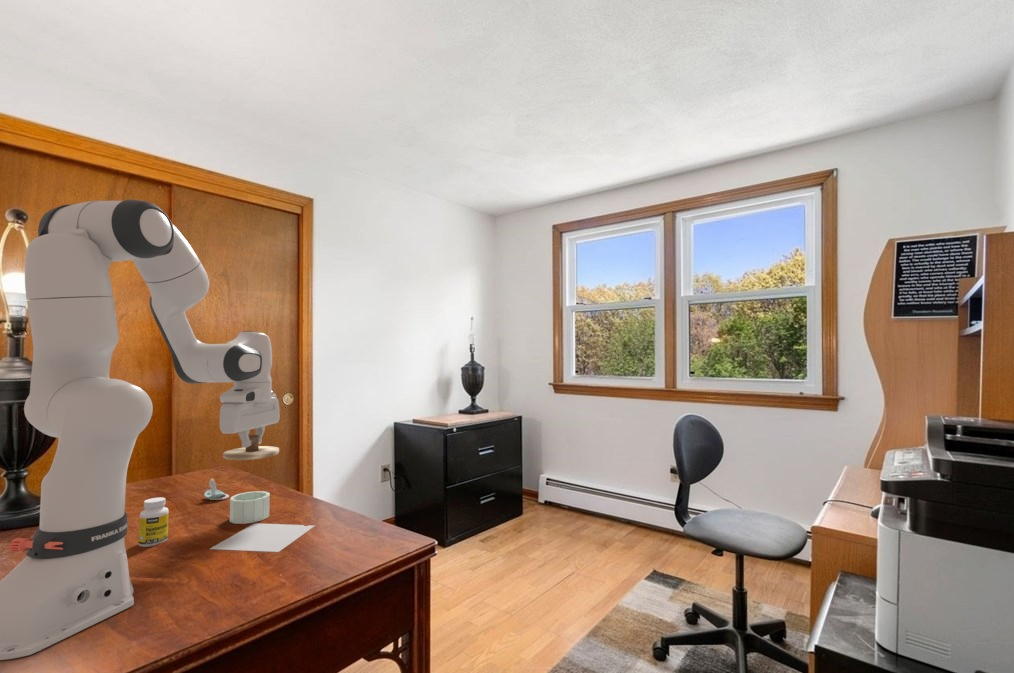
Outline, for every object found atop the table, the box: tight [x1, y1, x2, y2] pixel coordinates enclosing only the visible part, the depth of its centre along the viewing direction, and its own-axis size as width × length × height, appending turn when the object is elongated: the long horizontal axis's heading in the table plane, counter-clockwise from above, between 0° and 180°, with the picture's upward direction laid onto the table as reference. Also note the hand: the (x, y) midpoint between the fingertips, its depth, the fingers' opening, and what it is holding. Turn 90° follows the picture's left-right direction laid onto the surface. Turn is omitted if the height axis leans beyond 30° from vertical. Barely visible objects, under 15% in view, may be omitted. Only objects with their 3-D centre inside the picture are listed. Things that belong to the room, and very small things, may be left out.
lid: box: [222, 434, 280, 461], centre depth 125 cm, size 13×13×5 cm
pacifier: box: [203, 478, 230, 501], centre depth 142 cm, size 7×6×6 cm
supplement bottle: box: [137, 496, 170, 548], centre depth 109 cm, size 5×5×10 cm
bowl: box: [229, 490, 271, 525], centre depth 124 cm, size 9×9×6 cm
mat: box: [209, 522, 315, 553], centre depth 111 cm, size 16×16×1 cm
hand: (251, 445), depth 125 cm, fingers closed on lid, 3 cm apart
